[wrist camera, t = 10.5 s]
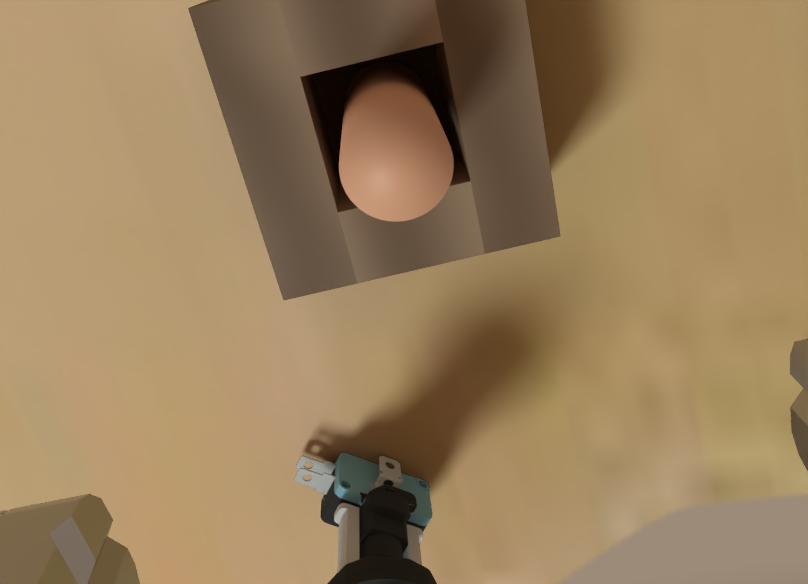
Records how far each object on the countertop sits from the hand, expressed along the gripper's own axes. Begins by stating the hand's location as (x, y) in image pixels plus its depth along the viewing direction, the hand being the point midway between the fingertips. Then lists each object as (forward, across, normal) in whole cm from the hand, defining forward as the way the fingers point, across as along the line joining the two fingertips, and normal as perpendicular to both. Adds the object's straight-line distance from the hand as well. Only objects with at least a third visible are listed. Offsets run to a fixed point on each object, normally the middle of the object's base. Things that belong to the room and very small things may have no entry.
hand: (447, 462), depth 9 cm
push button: (+23, +5, +17) cm, 29 cm away
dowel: (+22, 0, 0) cm, 23 cm away
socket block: (+22, 0, 0) cm, 23 cm away
